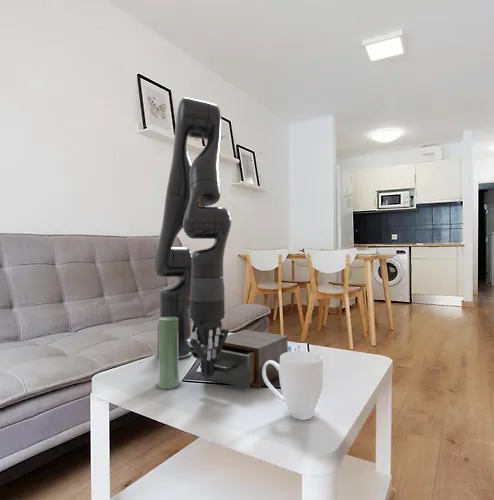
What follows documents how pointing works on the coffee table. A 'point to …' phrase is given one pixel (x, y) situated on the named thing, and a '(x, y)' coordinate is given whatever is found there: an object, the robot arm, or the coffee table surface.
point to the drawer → (235, 367)
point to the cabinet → (260, 351)
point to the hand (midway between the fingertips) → (207, 375)
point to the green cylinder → (168, 352)
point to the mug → (298, 382)
